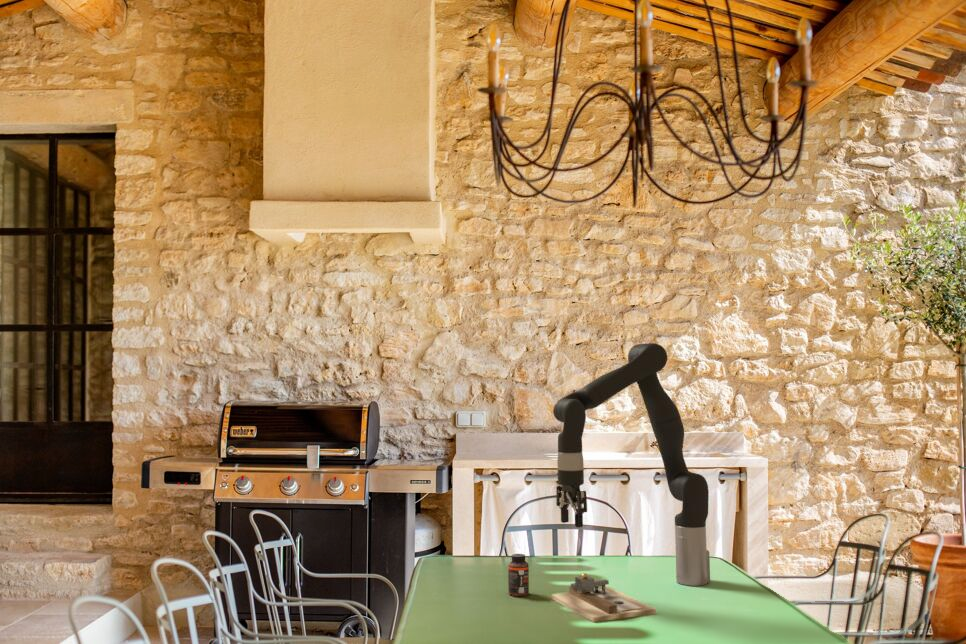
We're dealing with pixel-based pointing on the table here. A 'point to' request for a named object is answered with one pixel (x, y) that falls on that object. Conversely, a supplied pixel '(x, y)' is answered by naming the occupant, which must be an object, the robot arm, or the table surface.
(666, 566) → the table surface
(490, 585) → the table surface
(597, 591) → the bar
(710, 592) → the table surface
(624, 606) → the wooden slider puzzle board
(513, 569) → the supplement bottle
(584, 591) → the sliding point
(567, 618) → the table surface
